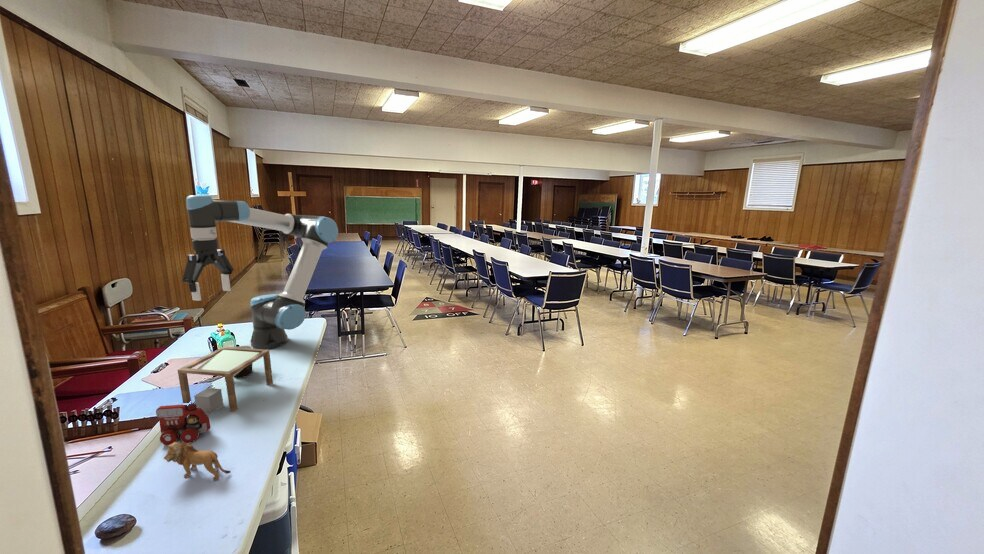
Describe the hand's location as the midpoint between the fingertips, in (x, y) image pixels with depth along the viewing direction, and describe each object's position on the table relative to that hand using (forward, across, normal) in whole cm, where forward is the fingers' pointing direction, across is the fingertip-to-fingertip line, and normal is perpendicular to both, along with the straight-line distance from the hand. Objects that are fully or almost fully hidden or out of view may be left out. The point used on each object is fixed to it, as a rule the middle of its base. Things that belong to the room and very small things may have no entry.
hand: (212, 295), depth 141 cm
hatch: (+20, -13, -15) cm, 28 cm away
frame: (+32, -14, -15) cm, 38 cm away
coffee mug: (+32, +2, -8) cm, 33 cm away
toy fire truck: (+32, -37, -20) cm, 53 cm away
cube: (+26, -23, -15) cm, 38 cm away
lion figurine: (+32, -50, -36) cm, 70 cm away
